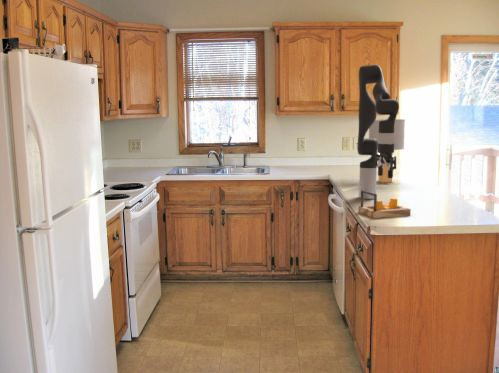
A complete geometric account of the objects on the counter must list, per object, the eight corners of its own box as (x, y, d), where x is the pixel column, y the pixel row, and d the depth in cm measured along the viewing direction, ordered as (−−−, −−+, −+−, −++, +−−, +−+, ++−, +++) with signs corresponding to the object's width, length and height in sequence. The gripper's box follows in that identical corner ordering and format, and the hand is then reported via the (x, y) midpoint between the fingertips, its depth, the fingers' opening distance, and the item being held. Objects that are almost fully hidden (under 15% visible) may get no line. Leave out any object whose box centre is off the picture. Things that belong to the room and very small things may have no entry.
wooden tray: (358, 212, 254) (358, 189, 253) (392, 209, 260) (393, 187, 258) (374, 218, 240) (375, 194, 239) (410, 215, 246) (411, 192, 244)
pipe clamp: (390, 210, 255) (390, 197, 254) (396, 212, 251) (397, 198, 250) (372, 213, 249) (372, 200, 248) (378, 214, 245) (379, 201, 244)
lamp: (376, 185, 339) (378, 120, 332) (362, 180, 361) (363, 119, 354) (409, 183, 343) (411, 119, 337) (392, 179, 365) (394, 119, 359)
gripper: (371, 141, 250) (370, 175, 253) (387, 144, 237) (386, 179, 240) (384, 141, 253) (383, 174, 255) (401, 143, 239) (400, 178, 242)
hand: (385, 176), depth 247 cm, fingers open, 8 cm apart
